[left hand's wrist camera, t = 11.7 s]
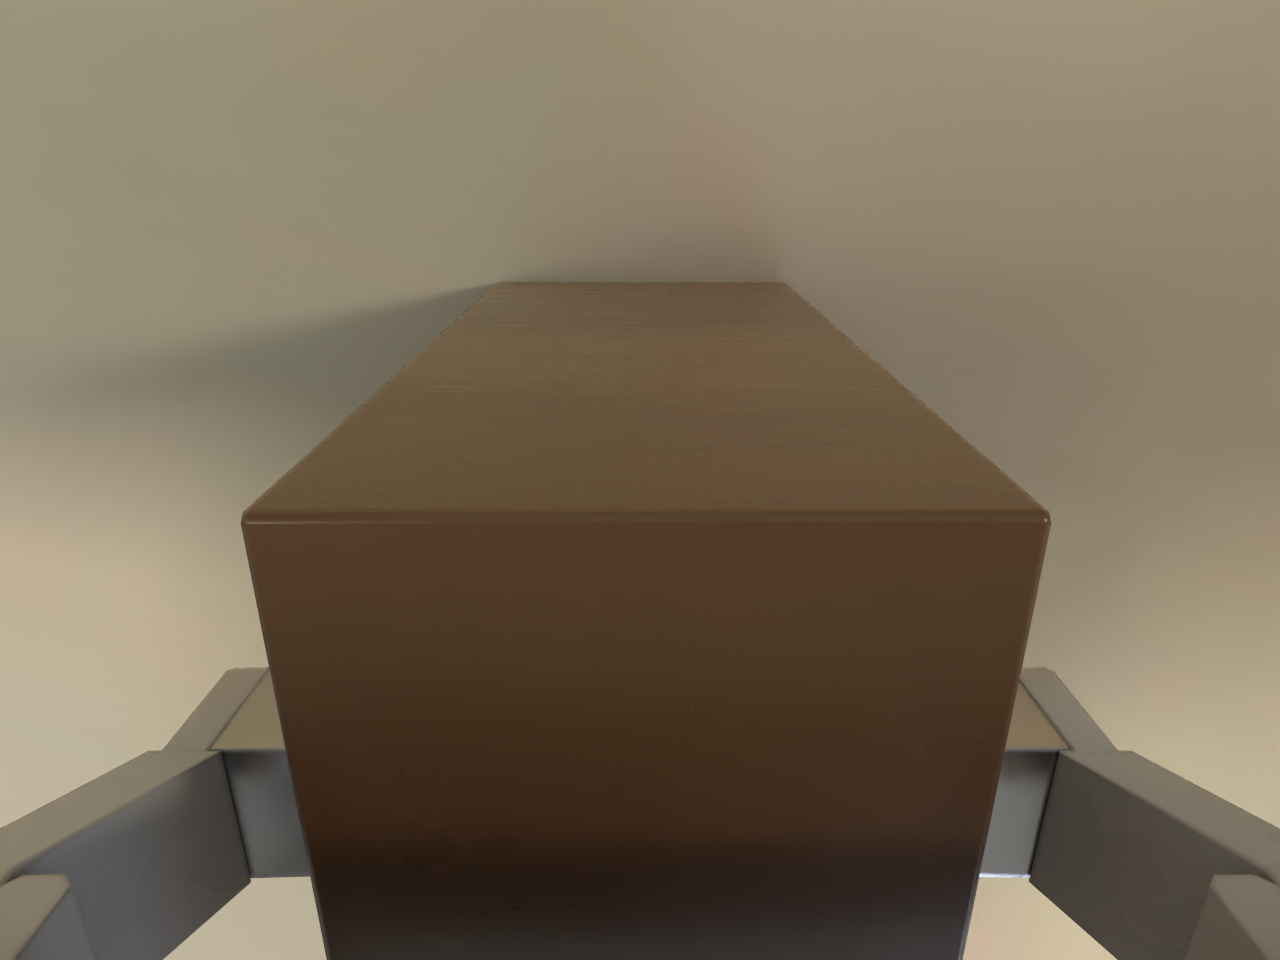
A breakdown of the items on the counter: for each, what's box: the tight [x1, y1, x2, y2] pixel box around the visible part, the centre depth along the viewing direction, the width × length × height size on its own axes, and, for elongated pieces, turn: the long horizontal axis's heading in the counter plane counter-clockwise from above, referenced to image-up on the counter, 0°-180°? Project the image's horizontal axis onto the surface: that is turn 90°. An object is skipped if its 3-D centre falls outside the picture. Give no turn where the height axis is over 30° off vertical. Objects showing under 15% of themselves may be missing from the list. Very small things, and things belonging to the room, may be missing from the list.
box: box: [241, 283, 1051, 960], centre depth 15 cm, size 21×6×12 cm, turn 0°
